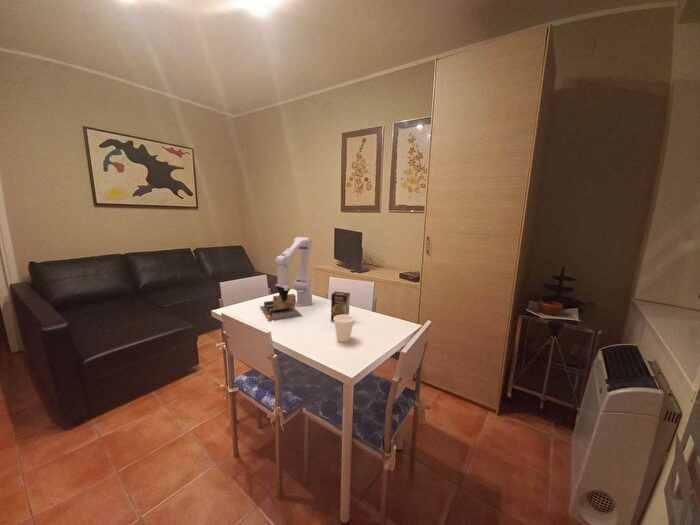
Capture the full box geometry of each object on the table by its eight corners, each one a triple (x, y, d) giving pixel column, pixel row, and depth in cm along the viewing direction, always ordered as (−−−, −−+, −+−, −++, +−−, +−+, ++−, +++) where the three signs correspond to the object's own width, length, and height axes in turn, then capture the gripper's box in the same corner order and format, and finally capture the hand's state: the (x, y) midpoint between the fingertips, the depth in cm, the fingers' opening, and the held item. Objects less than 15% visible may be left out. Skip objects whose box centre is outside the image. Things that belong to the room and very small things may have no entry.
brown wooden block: (293, 305, 166) (293, 293, 165) (295, 307, 163) (295, 295, 162) (273, 307, 161) (273, 296, 159) (274, 309, 157) (274, 297, 156)
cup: (342, 333, 141) (342, 312, 139) (357, 339, 135) (358, 318, 133) (328, 340, 133) (329, 318, 131) (344, 346, 127) (345, 324, 125)
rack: (289, 303, 184) (289, 298, 183) (301, 316, 162) (301, 310, 162) (259, 307, 175) (259, 302, 174) (268, 321, 153) (268, 315, 153)
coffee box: (330, 321, 155) (330, 293, 152) (334, 317, 161) (334, 290, 159) (346, 323, 153) (346, 295, 150) (349, 319, 159) (350, 292, 156)
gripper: (272, 274, 162) (273, 296, 165) (278, 280, 150) (279, 304, 152) (284, 273, 166) (285, 295, 168) (291, 278, 153) (292, 302, 156)
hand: (283, 299), depth 160 cm, fingers closed on brown wooden block, 4 cm apart
